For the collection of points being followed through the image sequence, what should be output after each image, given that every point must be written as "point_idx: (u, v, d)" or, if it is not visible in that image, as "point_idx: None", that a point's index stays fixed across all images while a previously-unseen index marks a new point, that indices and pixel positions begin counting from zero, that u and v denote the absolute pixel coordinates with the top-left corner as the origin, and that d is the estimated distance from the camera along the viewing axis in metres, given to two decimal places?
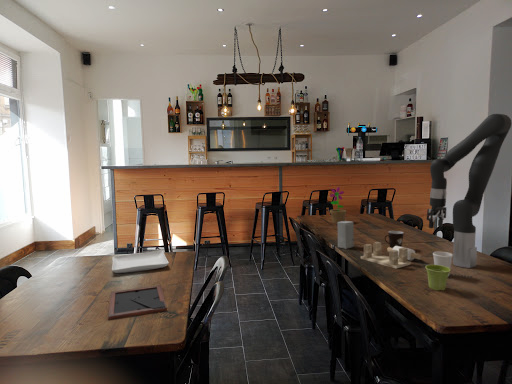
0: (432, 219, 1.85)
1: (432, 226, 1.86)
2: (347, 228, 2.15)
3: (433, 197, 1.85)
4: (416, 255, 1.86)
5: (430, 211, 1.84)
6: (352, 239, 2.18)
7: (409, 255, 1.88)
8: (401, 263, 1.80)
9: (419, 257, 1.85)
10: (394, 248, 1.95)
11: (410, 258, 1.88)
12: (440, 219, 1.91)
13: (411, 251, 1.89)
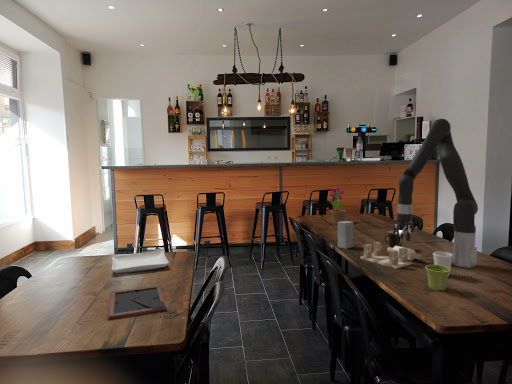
0: (399, 234, 1.89)
1: (399, 241, 1.90)
2: (347, 228, 2.15)
3: (399, 212, 1.90)
4: (416, 255, 1.86)
5: (396, 226, 1.88)
6: (352, 239, 2.18)
7: (409, 255, 1.88)
8: (401, 263, 1.80)
9: (419, 257, 1.85)
10: (394, 248, 1.95)
11: (410, 258, 1.88)
12: (408, 234, 1.95)
13: (411, 251, 1.89)
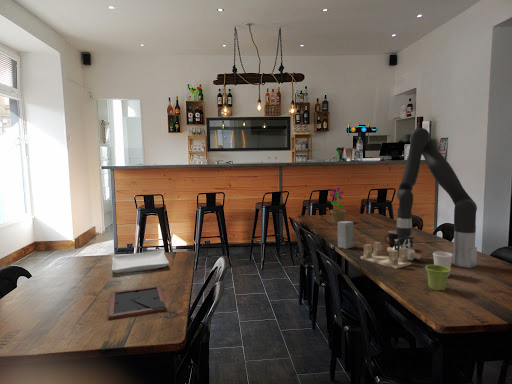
0: None
1: None
2: (347, 228, 2.15)
3: (399, 226, 1.90)
4: (416, 255, 1.86)
5: (396, 242, 1.88)
6: (352, 239, 2.18)
7: (409, 255, 1.88)
8: (401, 263, 1.80)
9: (419, 257, 1.85)
10: (394, 248, 1.95)
11: (410, 258, 1.88)
12: None
13: (411, 251, 1.89)
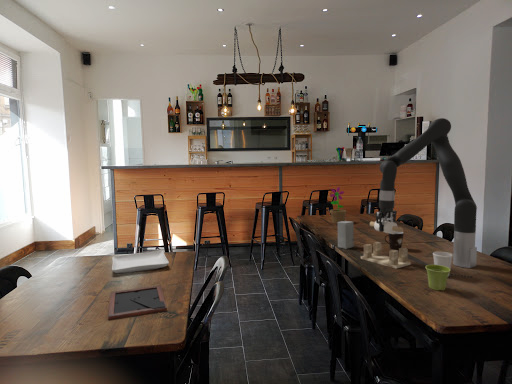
0: (382, 222, 1.84)
1: (382, 229, 1.85)
2: (347, 228, 2.15)
3: (381, 199, 1.84)
4: (397, 228, 1.80)
5: (378, 215, 1.83)
6: (352, 239, 2.18)
7: (391, 228, 1.82)
8: (401, 263, 1.80)
9: (401, 230, 1.79)
10: None
11: (392, 231, 1.83)
12: None
13: (393, 224, 1.83)
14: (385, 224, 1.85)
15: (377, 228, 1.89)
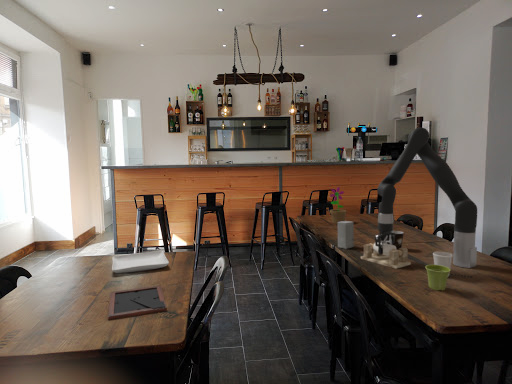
0: (381, 245, 1.84)
1: (381, 252, 1.85)
2: (347, 228, 2.15)
3: (380, 222, 1.84)
4: None
5: (377, 238, 1.83)
6: (352, 239, 2.18)
7: None
8: (401, 263, 1.80)
9: (400, 254, 1.80)
10: None
11: None
12: None
13: (392, 247, 1.83)
14: (384, 247, 1.85)
15: (376, 250, 1.89)
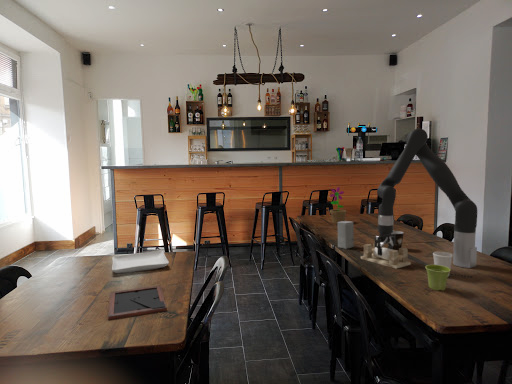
0: (380, 246, 1.84)
1: (380, 253, 1.84)
2: (347, 228, 2.15)
3: (380, 224, 1.84)
4: None
5: (377, 238, 1.83)
6: (352, 239, 2.18)
7: None
8: (401, 263, 1.80)
9: (400, 258, 1.80)
10: (375, 248, 1.90)
11: None
12: (389, 246, 1.89)
13: None
14: (384, 251, 1.85)
15: (376, 255, 1.89)
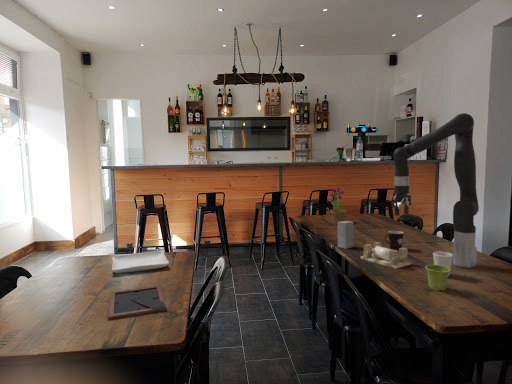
0: (397, 206, 1.90)
1: (398, 213, 1.90)
2: (347, 228, 2.15)
3: (397, 185, 1.90)
4: None
5: (394, 198, 1.89)
6: (352, 239, 2.18)
7: None
8: (401, 263, 1.80)
9: (400, 258, 1.80)
10: (375, 248, 1.90)
11: None
12: (406, 207, 1.96)
13: None
14: (384, 251, 1.85)
15: (376, 255, 1.89)
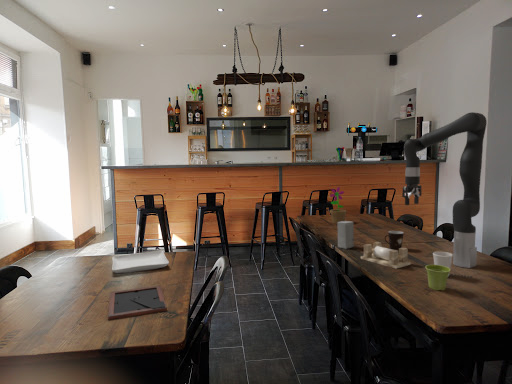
0: None
1: (408, 203, 1.96)
2: (347, 228, 2.15)
3: (407, 175, 1.96)
4: None
5: (405, 188, 1.94)
6: (352, 239, 2.18)
7: None
8: (401, 263, 1.80)
9: (400, 258, 1.80)
10: (375, 248, 1.90)
11: None
12: (416, 197, 2.01)
13: None
14: (384, 251, 1.85)
15: (376, 255, 1.89)
